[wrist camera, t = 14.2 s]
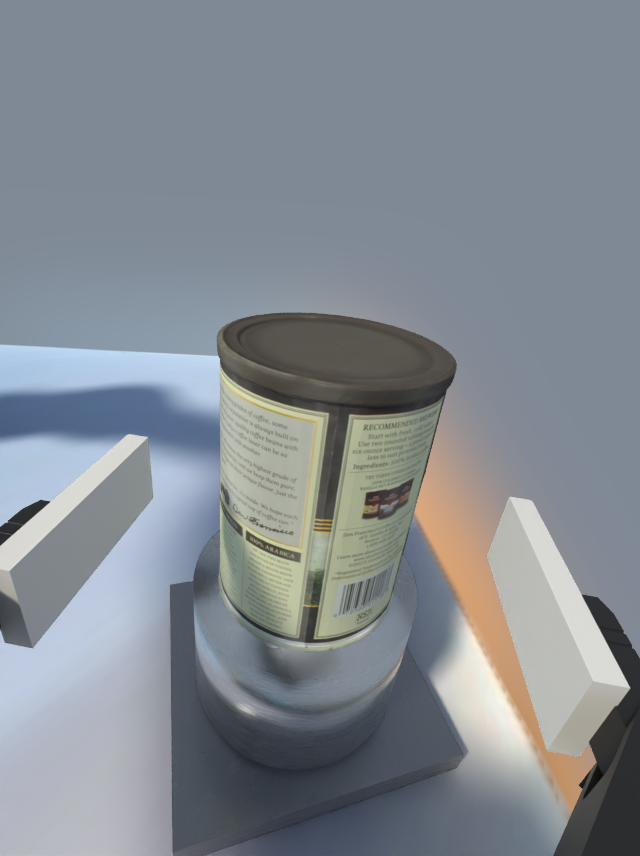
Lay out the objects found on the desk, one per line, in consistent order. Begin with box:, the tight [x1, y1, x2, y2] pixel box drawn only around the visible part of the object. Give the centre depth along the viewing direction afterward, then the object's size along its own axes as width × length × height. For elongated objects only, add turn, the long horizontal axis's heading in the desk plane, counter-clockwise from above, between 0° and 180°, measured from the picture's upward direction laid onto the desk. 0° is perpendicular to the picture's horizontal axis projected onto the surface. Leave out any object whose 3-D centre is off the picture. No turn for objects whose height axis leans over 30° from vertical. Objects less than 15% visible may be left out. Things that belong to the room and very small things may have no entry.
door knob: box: [170, 530, 463, 856], centre depth 28 cm, size 16×16×10 cm
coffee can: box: [217, 313, 457, 652], centre depth 22 cm, size 10×10×14 cm
